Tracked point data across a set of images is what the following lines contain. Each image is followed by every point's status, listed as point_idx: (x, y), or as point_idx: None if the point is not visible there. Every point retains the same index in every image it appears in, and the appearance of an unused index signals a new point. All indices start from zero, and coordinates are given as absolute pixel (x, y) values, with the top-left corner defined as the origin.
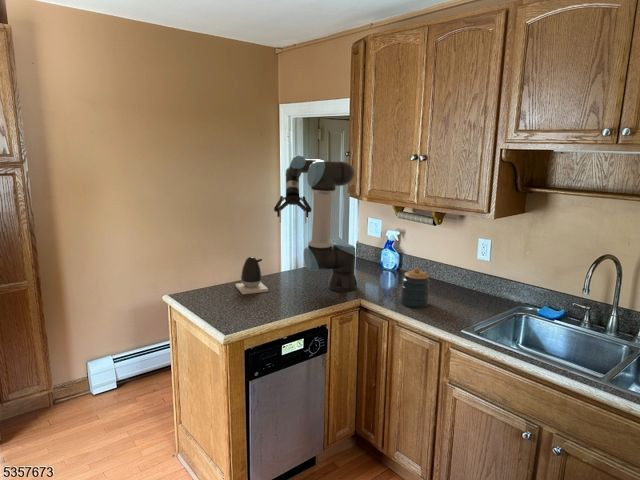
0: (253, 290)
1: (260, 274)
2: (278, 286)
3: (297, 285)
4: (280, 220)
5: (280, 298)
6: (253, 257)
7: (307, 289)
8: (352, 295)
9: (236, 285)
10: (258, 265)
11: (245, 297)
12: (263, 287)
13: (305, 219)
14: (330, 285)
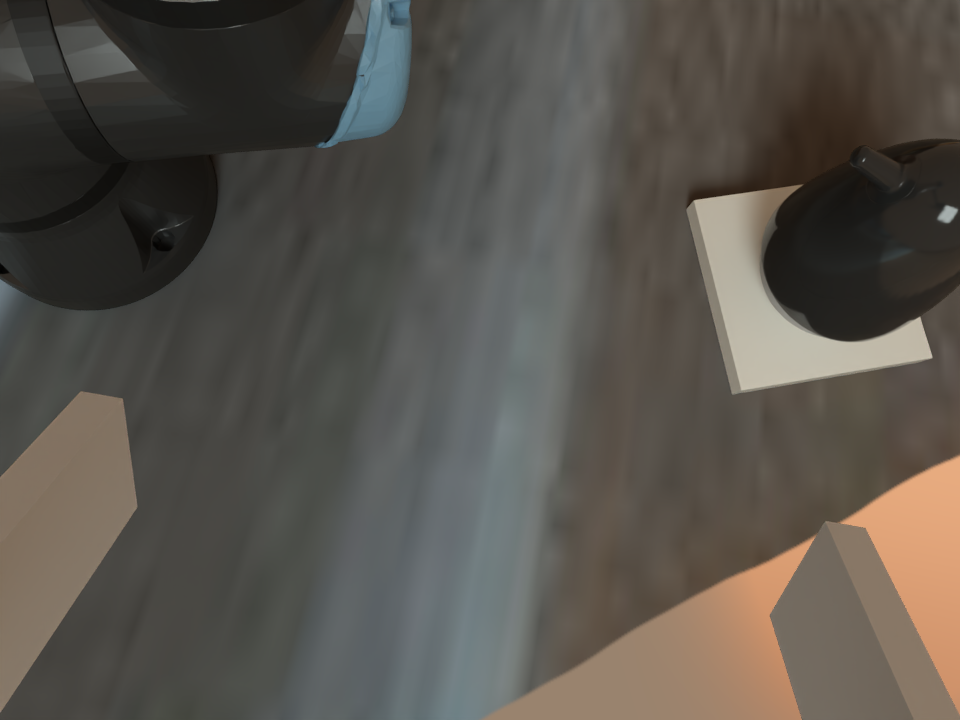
0: (798, 185)
1: (795, 202)
2: (595, 310)
3: (442, 308)
4: (825, 544)
5: (617, 65)
6: (956, 166)
7: (389, 204)
8: None
9: (920, 331)
10: (856, 176)
11: (842, 125)
12: (724, 232)
13: (98, 411)
14: (205, 158)
